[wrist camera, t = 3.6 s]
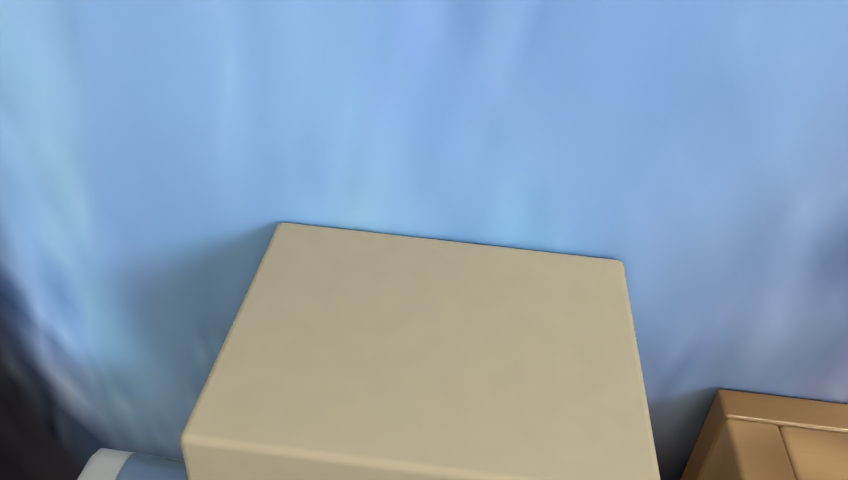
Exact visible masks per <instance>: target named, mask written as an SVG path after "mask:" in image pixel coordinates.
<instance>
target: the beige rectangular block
mask: <svg viewBox="0 0 848 480" xmlns="http://www.w3.org/2000/svg"><path fill="white" fill-rule="evenodd" d="M181 446H182V451H183V456H184V461H185V466H186V471H187V476H188V480H660V474H659V468H658V462H657V457H656V451H655V445H654V439H653V433H652V427H651V422H650V416H649V410H648V404H647V398H646V392H645V386H644V381H643V375H642V369H641V363H640V357H639V351H638V346H637V340H636V334H635V328H634V322H633V316H632V310H631V305H630V299H629V293H628V287H627V281H626V275H625V269H624V265H623V263H622V262H621V261H619V260H613V259H604V258H595V257H586V256H578V255H569V254H560V253H551V252H542V251H533V250H524V249H515V248H507V247H498V246H489V245H480V244H471V243H462V242H453V241H444V240H435V239H427V238H418V237H409V236H400V235H391V234H382V233H373V232H364V231H356V230H347V229H338V228H329V227H320V226H311V225H302V224H293V223H280V224H278V226H277V228H276V230H275V233H274V235H273V237H272V239H271V241H270V244H269V246H268V248H267V250H266V252H265V254H264V257H263V259H262V261H261V263H260V265H259V267H258V270H257V272H256V274H255V276H254V278H253V281H252V283H251V285H250V287H249V289H248V291H247V294H246V296H245V298H244V300H243V302H242V304H241V307H240V309H239V311H238V313H237V315H236V318H235V320H234V322H233V324H232V326H231V328H230V331H229V333H228V335H227V337H226V339H225V341H224V344H223V346H222V348H221V350H220V352H219V355H218V357H217V359H216V361H215V363H214V365H213V368H212V370H211V372H210V374H209V376H208V378H207V381H206V383H205V385H204V387H203V389H202V392H201V394H200V396H199V398H198V400H197V402H196V405H195V407H194V409H193V411H192V413H191V415H190V418H189V420H188V422H187V424H186V426H185V429H184V431H183V433H182V435H181Z"/></svg>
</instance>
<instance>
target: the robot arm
mask: <svg viewBox="0 0 848 480" xmlns="http://www.w3.org/2000/svg"><path fill="white" fill-rule="evenodd" d="M77 480H188V476H187V471H186V466H185V461H181V460H175V459H169V458H162V457H156V456H150V455H143V454H137V453H133V452H126V451H119V450H112V449H105V448H100V449H99V450H98V451H97V452H96V453H95V454H94V455H93V456H92V457H90V459H89V460H88V462H87V464H86V465H85V467H84V469H83V470H82V472H81V474H80V475H79V477H78V479H77Z"/></svg>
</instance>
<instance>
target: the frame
mask: <svg viewBox="0 0 848 480" xmlns="http://www.w3.org/2000/svg"><path fill="white" fill-rule="evenodd" d="M680 480H848V404H840V403H832V402H823V401H815V400H807V399H799V398H790V397H782V396H774V395H765V394H757V393H749V392H740V391H732V390H724V389H720V390H718V391H717V394H716V396H715V399H714V401H713V403H712V406H711V408H710V410H709V413H708V415H707V417H706V420H705V422H704V425H703V427H702V429H701V432H700V434H699V436H698V439H697V441H696V444H695V446H694V448H693V451H692V453H691V455H690V458H689V460H688V463H687V465H686V467H685V470H684V472H683V474H682V477H681V479H680Z"/></svg>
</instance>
